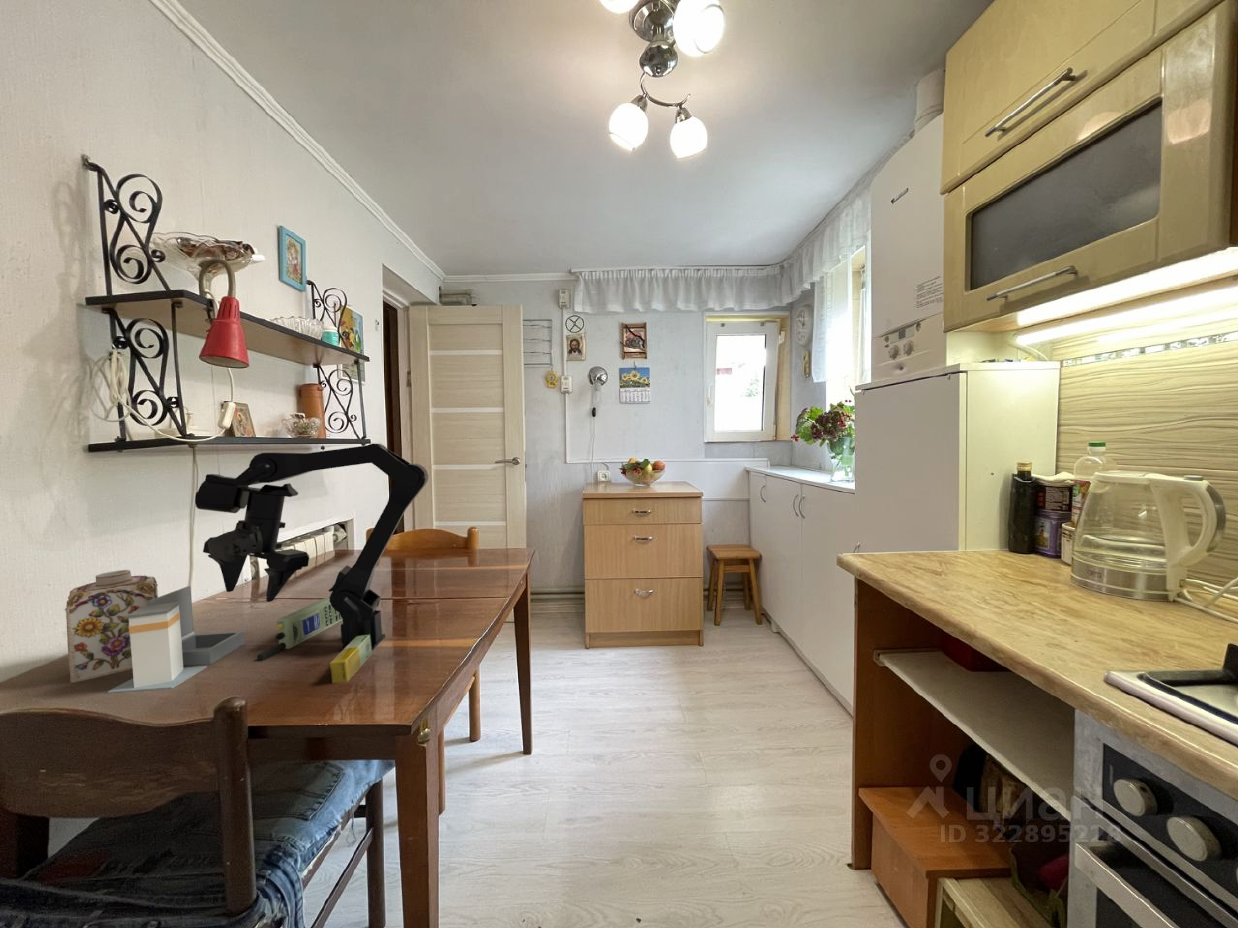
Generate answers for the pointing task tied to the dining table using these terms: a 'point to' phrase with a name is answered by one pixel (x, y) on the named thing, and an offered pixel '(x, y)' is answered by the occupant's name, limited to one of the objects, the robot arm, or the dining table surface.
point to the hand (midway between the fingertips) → (249, 596)
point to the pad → (180, 678)
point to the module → (155, 644)
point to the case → (199, 645)
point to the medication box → (351, 659)
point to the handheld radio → (303, 625)
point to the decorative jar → (104, 623)
